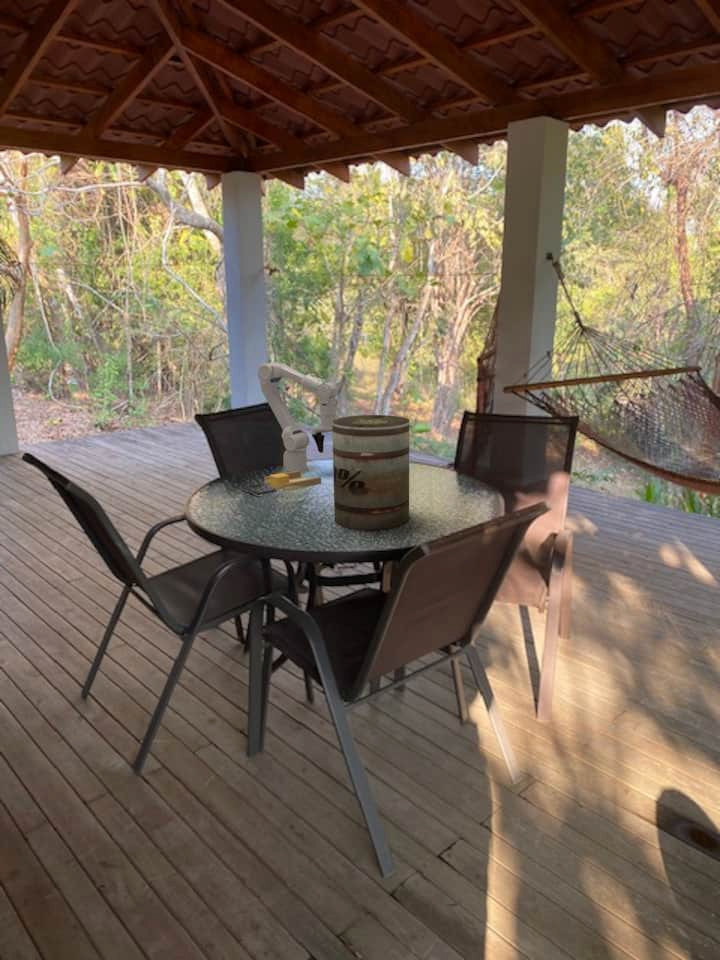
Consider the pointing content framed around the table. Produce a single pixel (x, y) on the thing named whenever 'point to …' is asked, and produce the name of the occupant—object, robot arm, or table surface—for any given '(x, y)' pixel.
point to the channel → (297, 481)
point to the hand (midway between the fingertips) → (329, 450)
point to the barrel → (371, 472)
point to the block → (279, 480)
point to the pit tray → (256, 491)
